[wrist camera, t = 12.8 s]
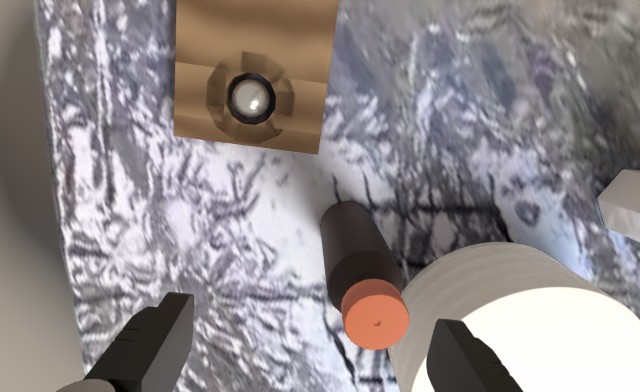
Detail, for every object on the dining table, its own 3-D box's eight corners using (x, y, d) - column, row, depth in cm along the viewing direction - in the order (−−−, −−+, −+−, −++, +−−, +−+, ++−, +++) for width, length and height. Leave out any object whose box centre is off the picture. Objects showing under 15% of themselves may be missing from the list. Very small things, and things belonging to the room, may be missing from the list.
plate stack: (533, 202, 45) (606, 236, 34) (606, 350, 52) (686, 418, 41) (349, 309, 49) (362, 372, 38) (442, 435, 56) (475, 519, 45)
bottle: (328, 255, 46) (344, 371, 27) (313, 208, 44) (319, 296, 25) (378, 241, 46) (431, 347, 27) (365, 193, 44) (412, 270, 25)
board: (186, -65, 35) (178, -76, 33) (342, -38, 37) (345, -47, 34) (181, 133, 41) (173, 135, 38) (317, 151, 42) (317, 154, 40)
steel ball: (238, 78, 40) (229, 74, 36) (273, 83, 40) (268, 80, 36) (235, 114, 41) (226, 114, 37) (270, 119, 41) (264, 119, 37)
